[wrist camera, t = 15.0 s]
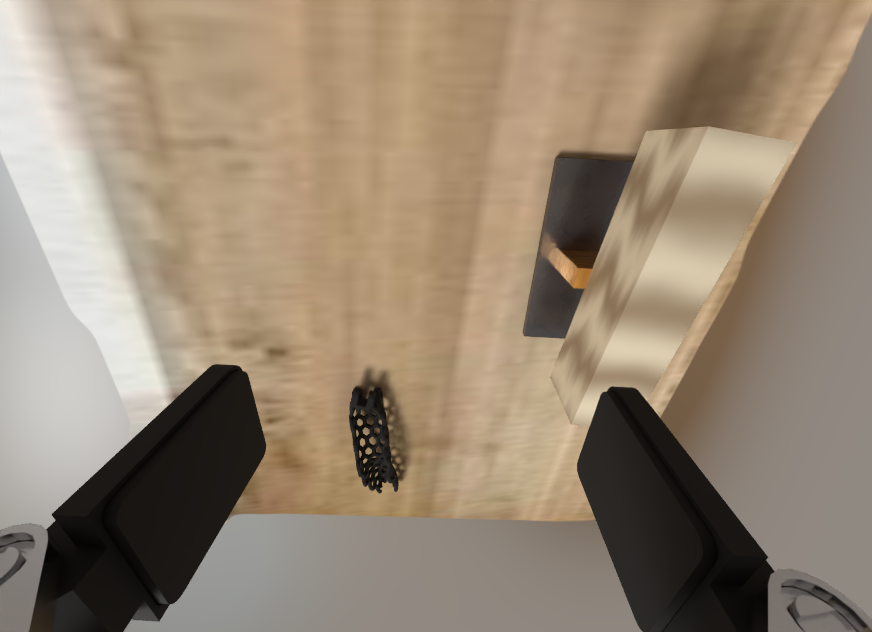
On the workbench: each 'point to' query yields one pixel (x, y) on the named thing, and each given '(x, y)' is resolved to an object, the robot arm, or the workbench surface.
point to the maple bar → (662, 258)
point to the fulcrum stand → (571, 239)
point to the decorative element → (382, 458)
